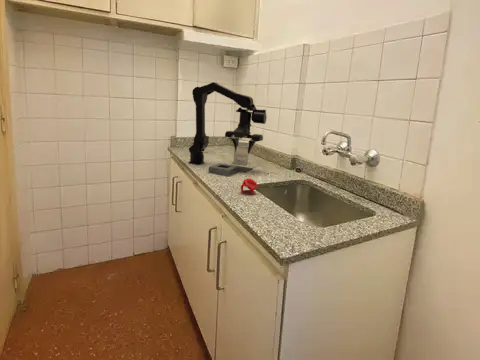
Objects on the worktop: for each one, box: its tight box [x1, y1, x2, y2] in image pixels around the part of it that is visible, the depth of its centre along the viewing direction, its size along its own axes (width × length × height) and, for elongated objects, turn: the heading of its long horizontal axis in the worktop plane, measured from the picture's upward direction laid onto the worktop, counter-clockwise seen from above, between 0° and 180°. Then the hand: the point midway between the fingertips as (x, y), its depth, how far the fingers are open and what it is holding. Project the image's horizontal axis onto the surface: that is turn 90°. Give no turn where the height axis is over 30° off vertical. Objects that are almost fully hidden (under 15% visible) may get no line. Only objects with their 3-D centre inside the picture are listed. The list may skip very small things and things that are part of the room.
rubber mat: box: [238, 165, 253, 173], centre depth 163 cm, size 9×9×1 cm
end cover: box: [236, 146, 250, 162], centre depth 161 cm, size 6×6×7 cm
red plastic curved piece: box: [240, 178, 258, 195], centre depth 124 cm, size 8×6×6 cm
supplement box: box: [232, 139, 249, 166], centre depth 176 cm, size 7×7×13 cm
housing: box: [208, 162, 240, 177], centre depth 153 cm, size 11×11×3 cm
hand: (242, 152), depth 160 cm, fingers closed on end cover, 6 cm apart
